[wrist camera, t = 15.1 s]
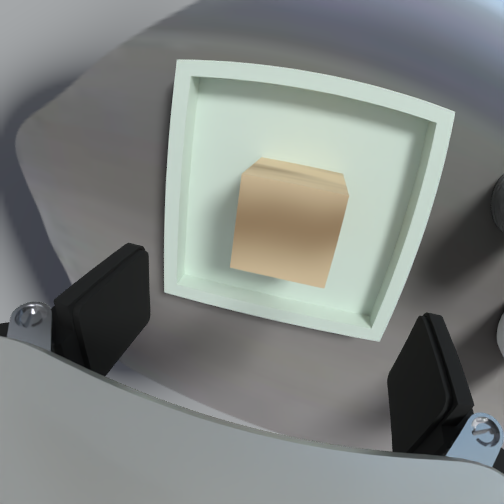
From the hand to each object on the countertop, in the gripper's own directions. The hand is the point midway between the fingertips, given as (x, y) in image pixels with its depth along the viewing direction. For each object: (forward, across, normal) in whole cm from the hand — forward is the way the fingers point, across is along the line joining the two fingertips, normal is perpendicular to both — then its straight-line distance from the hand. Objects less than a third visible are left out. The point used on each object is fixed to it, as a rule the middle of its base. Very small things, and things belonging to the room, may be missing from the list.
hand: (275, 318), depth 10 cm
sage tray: (+12, +1, -1) cm, 12 cm away
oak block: (+11, +1, -1) cm, 11 cm away
